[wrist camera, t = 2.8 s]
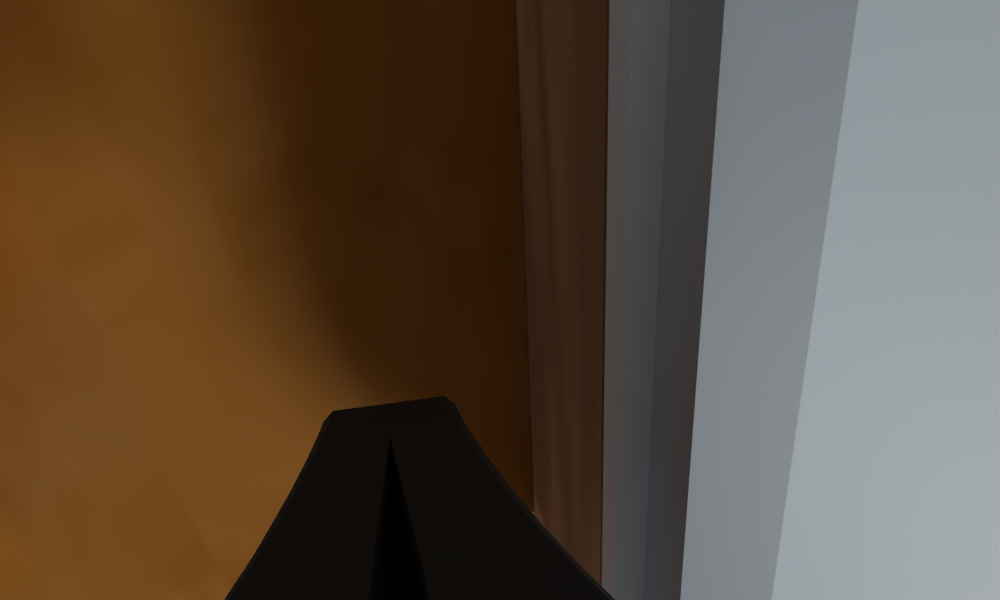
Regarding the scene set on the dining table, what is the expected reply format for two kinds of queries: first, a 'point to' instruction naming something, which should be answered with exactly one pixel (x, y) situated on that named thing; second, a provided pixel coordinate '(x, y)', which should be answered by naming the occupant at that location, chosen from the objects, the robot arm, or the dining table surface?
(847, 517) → the lid
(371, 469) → the robot arm
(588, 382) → the walnut box
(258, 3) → the dining table surface
